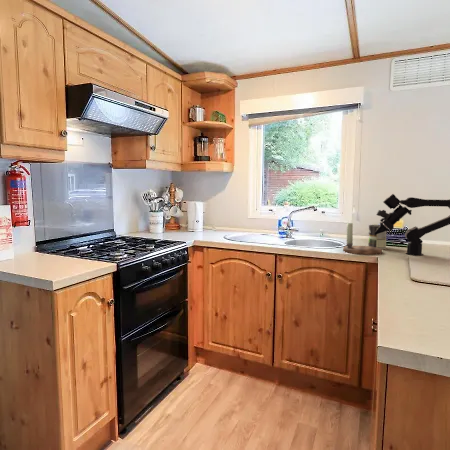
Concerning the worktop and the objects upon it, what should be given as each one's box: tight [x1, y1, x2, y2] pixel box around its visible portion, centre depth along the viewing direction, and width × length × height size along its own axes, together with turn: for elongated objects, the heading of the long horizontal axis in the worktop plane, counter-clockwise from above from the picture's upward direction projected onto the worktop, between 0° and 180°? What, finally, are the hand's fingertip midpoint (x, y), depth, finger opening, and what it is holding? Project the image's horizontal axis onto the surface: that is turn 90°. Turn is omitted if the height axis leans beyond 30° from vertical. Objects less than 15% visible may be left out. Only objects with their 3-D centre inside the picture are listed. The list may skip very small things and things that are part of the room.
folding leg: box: [346, 222, 354, 246], centre depth 198 cm, size 3×3×13 cm
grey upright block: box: [367, 224, 387, 250], centre depth 210 cm, size 10×10×14 cm
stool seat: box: [342, 243, 383, 256], centre depth 196 cm, size 21×21×4 cm
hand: (374, 234), depth 193 cm, fingers closed
